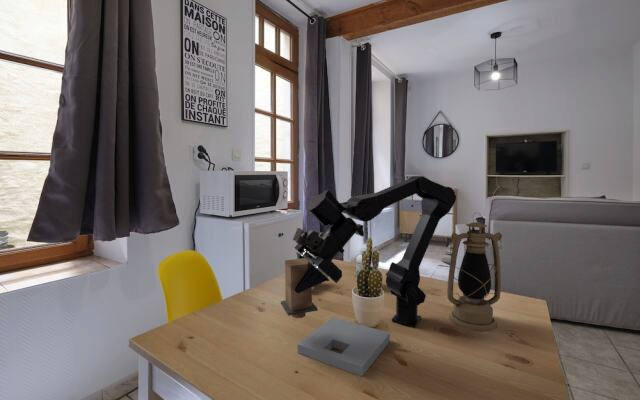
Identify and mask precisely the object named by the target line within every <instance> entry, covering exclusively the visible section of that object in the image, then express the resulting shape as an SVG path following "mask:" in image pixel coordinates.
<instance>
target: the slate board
mask: <svg viewBox="0 0 640 400" xmlns="http://www.w3.org/2000/svg"><path fill="white" fill-rule="evenodd" d="M390 342H391V332H388V331H384V330H381V329H377V328H373V327H370V326H366V325H361V324H359V323H355V322H351V321H347V320H344V319H341V318H338V317H337V318H336V317H334V316H332V317H331V318H330V319H328V320H327V321H326V322H324V324H322V325H321V326H319V327H318V328H316V329H315V330H314V331H313V332H311V333H310V334H309V335H307V336H306V337H305V338H304V339H302V340H301V341H300V342H298V343H297V345H296V346H297V347H296V348H297V353H298V354H300V355H302V356H306V357H308V358H311V359H313V360H316V361H319V362H321V363H324V364H327V365H329V366H332V367H335V368H338V369H341V370H344V371H346V372H349V373H352V374H353V375H356V376H360V377H363V376H364V374H366V372H367V371H368V370H369V369H370V367H371V366H372V364H374V362H375V360H377V358H378V357H379V356H380V354H382V352H383V350H384V349H385V348H386V347H387V346H388V344H389V343H390ZM332 349H337V350H340V351H342V352H341V353H339V352H336V351H334V350H332Z"/></svg>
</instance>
